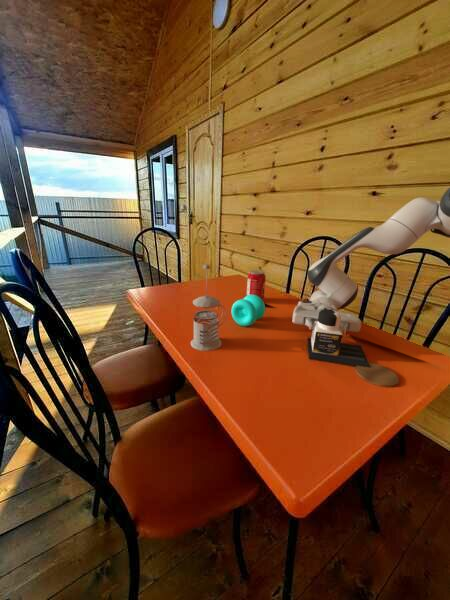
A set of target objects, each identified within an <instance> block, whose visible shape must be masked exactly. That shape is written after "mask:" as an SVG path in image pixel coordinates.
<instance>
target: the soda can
mask: <svg viewBox="0 0 450 600" xmlns="http://www.w3.org/2000/svg"><path fill="white" fill-rule="evenodd" d="M266 278H267V275H266V272H265V271H263V270H259V269H253V270H250V271H249V273H248V274H247V279H246V294H245V297H246V296H248V295H256V296H258V297H260V298H261V299H262V300H263V302H264V301H265V291H266ZM264 303H265V302H264Z"/></svg>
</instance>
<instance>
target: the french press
mask: <svg viewBox="0 0 450 600" xmlns="http://www.w3.org/2000/svg"><path fill="white" fill-rule="evenodd" d="M202 269H204V270H205V271H206V272H205V273H206V274H205V293H206V294H205V295H202V296H199V297H197V298H195V299H193V300H192V304H193V305H194V307H197V308H201V309H203V310H198V311H196V312H195V313H194V318H193V339H192V340H191V341H190V346H191V347H192V348H193V349H195V350H197V351H201V352H210V351H215V350H217V349H219V348H220V347H221V346H222V341H221V339H220V338H219V330H220V327H221V326H222V325H223V324H224V322H225V320H226V317H227V311H226V308H225V306H223V305H222V304H221V301H220V300H219V299H217V298H216V297H214V296H211V295H208V270H210V269H211V266H210V265H209V264H208V263H207V264H206V263H205V264H204V265H203V266H202ZM212 308H215V309H216V310H219V309H220V308H221V316H220V318H219V317H218V316H219V313H218V312H217V311H214V310H212ZM204 309H205V310H204ZM208 309H211V310H208ZM223 316H224V318H223ZM222 318H223V321H222ZM221 321H222V322H221ZM220 322H221V323H220Z"/></svg>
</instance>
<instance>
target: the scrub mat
mask: <svg viewBox="0 0 450 600" xmlns="http://www.w3.org/2000/svg"><path fill="white" fill-rule="evenodd" d="M311 338H312V337H311ZM311 338H310V337H308V338H307V349H308V351H307V352H308V353H307V354H308V359H309V360H313V361H319V362H324V363H331V364H336V365H342V366H349V367H353V368H356V366H363V367H369V368H370V367H371V366H370V364H369V363H370V362H369V360H368V358H367V355H366V353H365V352H364V349H363V347H362V345H358V344H351V343H345V342H341V344H340V349H339V354H338V356H336V355H329V354H322V353H316V352H313V351H312V344H311Z"/></svg>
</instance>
